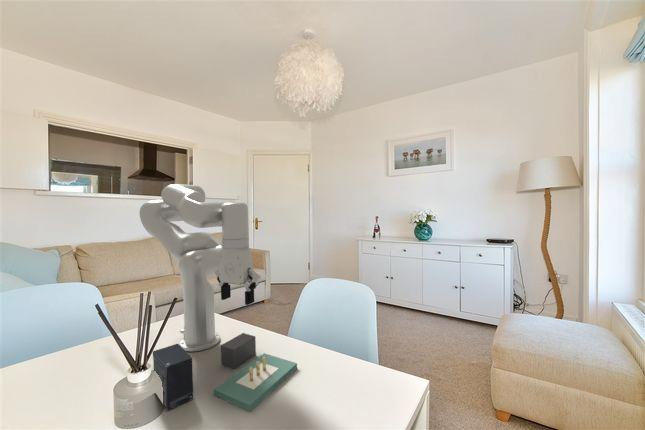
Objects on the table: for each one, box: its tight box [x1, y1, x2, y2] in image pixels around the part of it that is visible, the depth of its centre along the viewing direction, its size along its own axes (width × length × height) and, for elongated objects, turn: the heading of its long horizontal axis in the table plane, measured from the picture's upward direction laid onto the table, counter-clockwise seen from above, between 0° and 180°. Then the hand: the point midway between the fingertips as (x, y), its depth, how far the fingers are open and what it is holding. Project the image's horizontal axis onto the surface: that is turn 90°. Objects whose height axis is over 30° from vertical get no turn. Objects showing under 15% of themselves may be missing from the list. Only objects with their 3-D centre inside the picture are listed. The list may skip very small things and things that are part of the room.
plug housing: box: [220, 332, 257, 371], centre depth 86 cm, size 5×9×6 cm, turn 151°
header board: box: [212, 352, 298, 412], centre depth 76 cm, size 12×19×2 cm, turn 151°
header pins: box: [249, 357, 266, 381], centre depth 76 cm, size 1×6×4 cm, turn 151°
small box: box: [152, 343, 194, 412], centre depth 70 cm, size 11×6×10 cm, turn 45°
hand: (237, 301), depth 85 cm, fingers open, 9 cm apart
